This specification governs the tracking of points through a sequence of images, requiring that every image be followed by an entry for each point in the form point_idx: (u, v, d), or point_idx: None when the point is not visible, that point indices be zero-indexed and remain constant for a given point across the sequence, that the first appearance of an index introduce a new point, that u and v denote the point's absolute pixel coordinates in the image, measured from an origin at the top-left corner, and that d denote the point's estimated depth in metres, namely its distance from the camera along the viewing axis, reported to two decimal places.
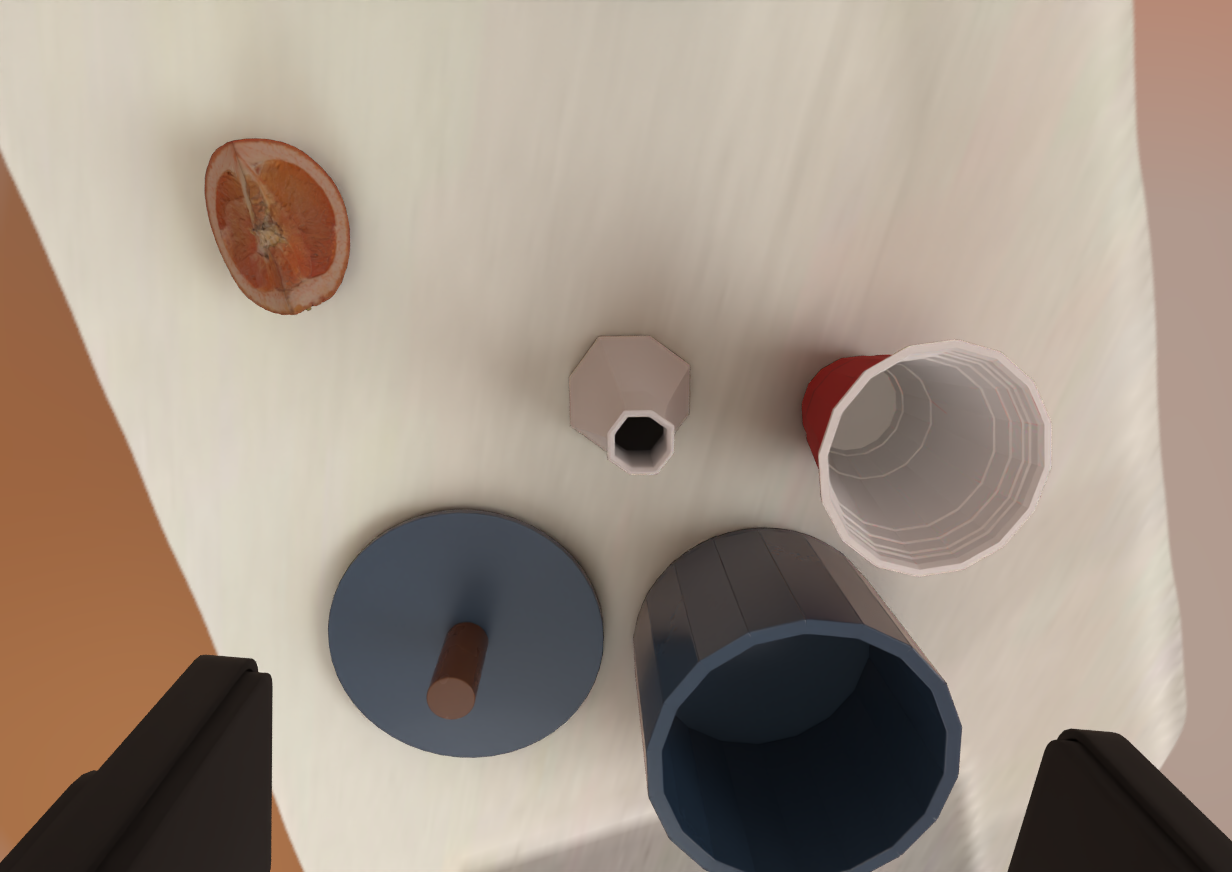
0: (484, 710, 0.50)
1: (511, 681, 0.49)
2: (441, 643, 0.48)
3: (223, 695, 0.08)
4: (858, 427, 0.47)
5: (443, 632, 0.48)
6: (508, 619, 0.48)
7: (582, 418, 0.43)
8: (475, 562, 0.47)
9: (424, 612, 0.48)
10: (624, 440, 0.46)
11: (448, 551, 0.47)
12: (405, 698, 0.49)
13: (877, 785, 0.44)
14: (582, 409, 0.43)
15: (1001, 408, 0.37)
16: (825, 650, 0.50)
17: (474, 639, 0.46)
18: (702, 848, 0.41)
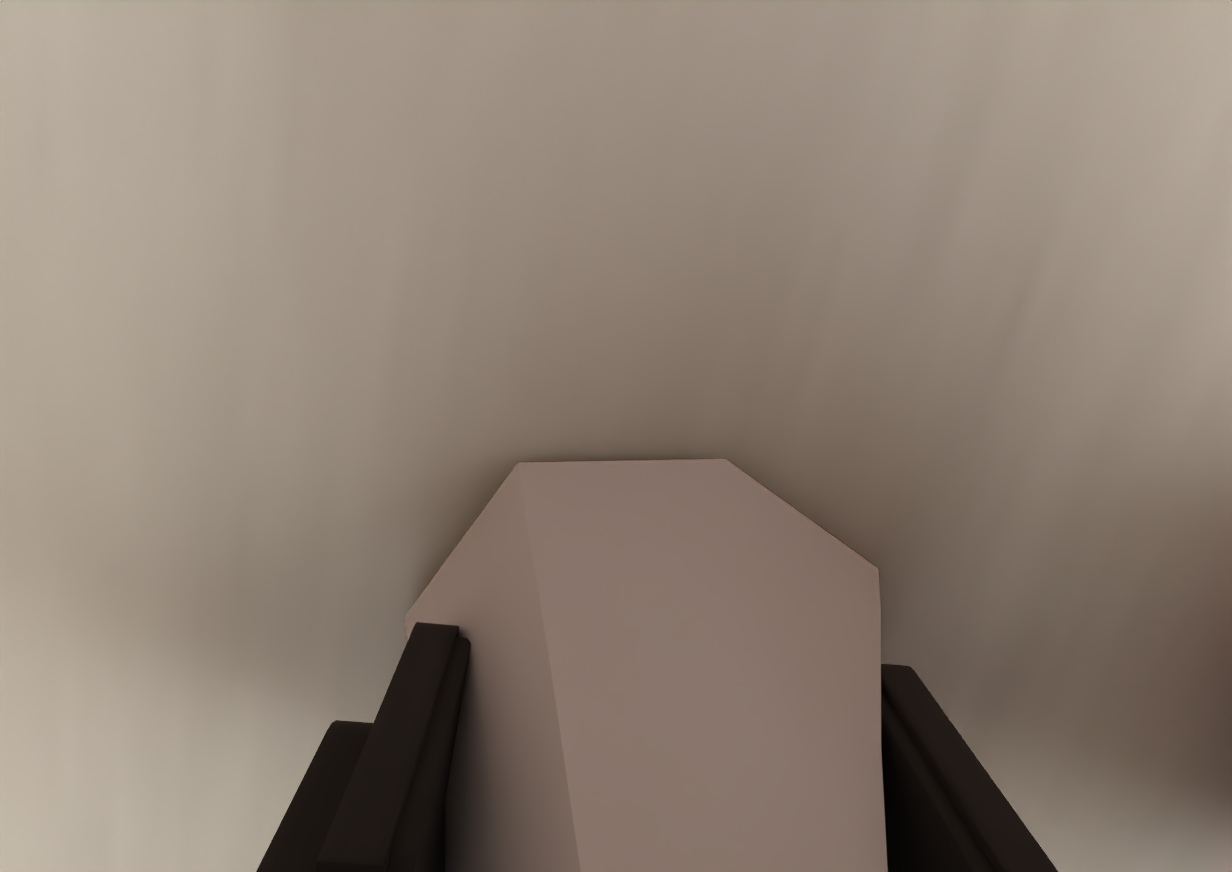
0: None
1: None
2: None
3: (449, 655, 0.09)
4: None
5: None
6: None
7: None
8: None
9: None
10: None
11: None
12: None
13: None
14: None
15: None
16: None
17: None
18: None
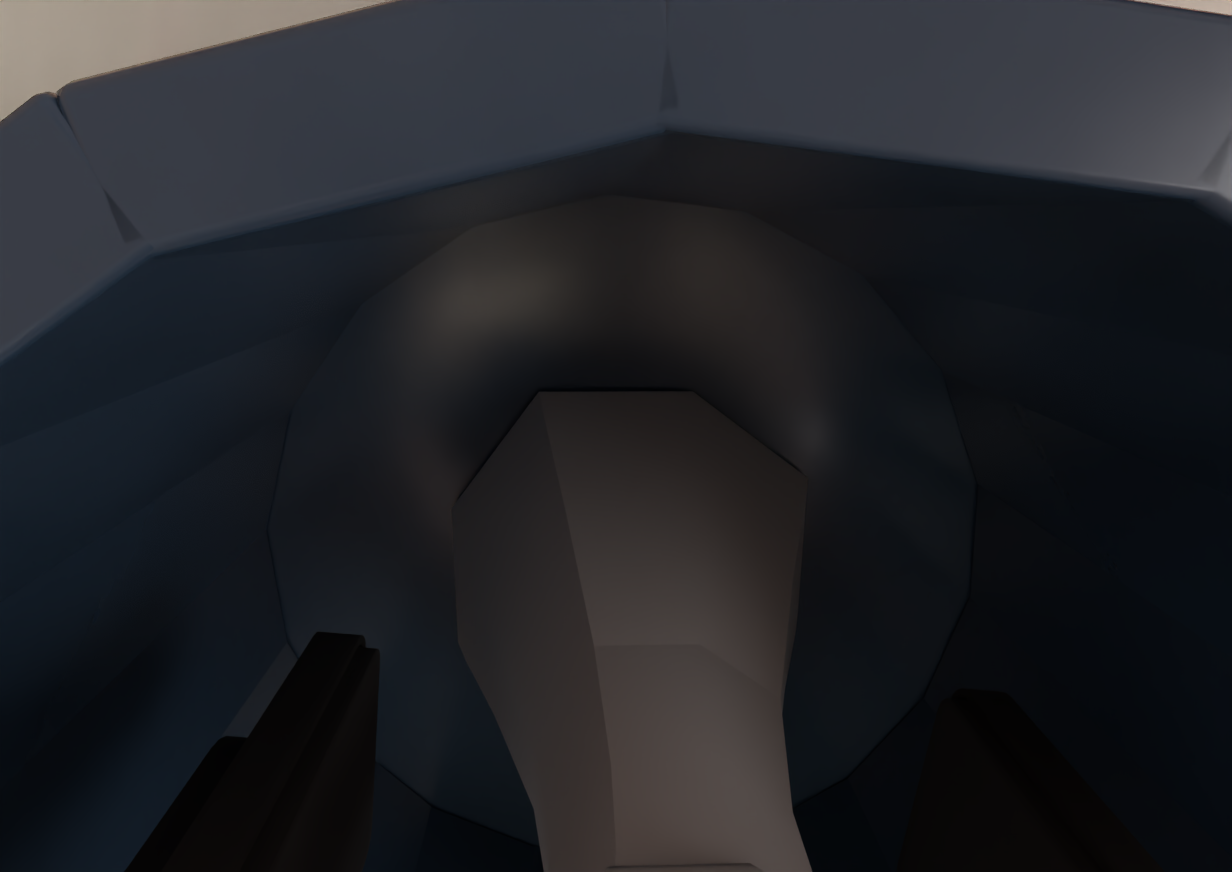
0: None
1: None
2: None
3: (345, 667, 0.09)
4: None
5: None
6: None
7: (478, 656, 0.14)
8: None
9: None
10: None
11: None
12: None
13: None
14: (478, 630, 0.14)
15: None
16: (837, 575, 0.16)
17: None
18: None
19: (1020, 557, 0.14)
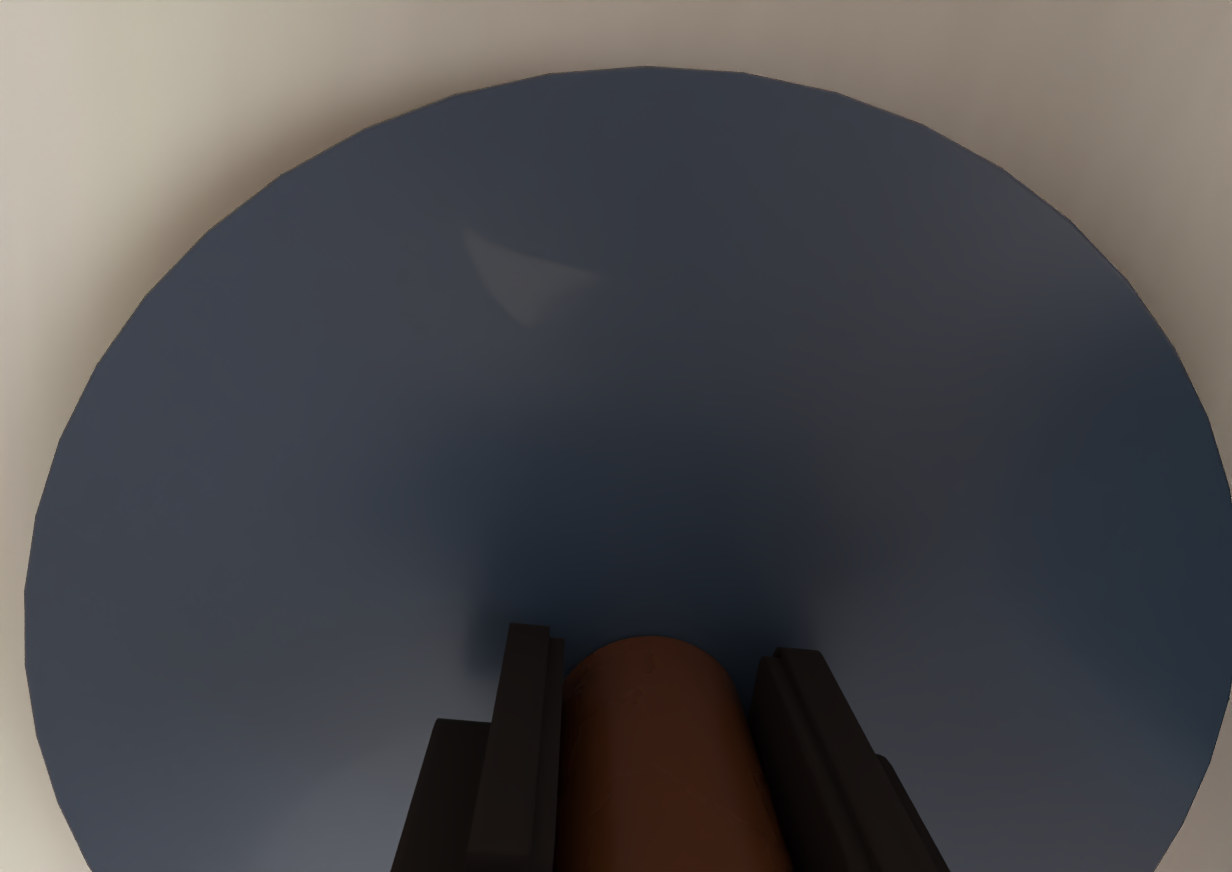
0: None
1: None
2: None
3: (547, 655, 0.09)
4: None
5: None
6: (839, 622, 0.11)
7: None
8: (714, 347, 0.10)
9: (463, 591, 0.10)
10: None
11: (584, 286, 0.09)
12: None
13: None
14: None
15: None
16: None
17: (722, 724, 0.09)
18: None
19: None
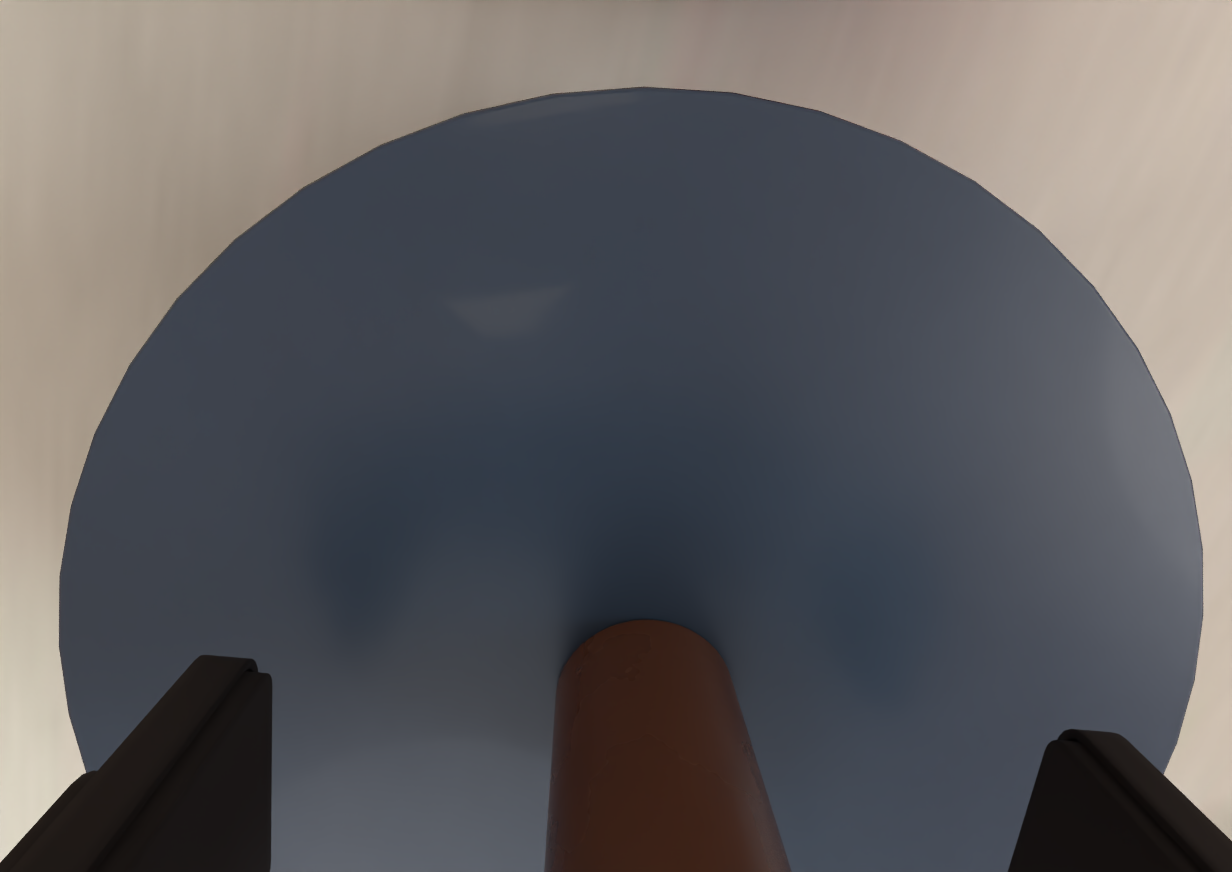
0: None
1: (807, 852, 0.13)
2: (539, 707, 0.12)
3: (223, 696, 0.08)
4: None
5: (549, 662, 0.11)
6: (824, 607, 0.11)
7: None
8: (706, 347, 0.10)
9: (471, 577, 0.11)
10: None
11: (586, 290, 0.10)
12: None
13: None
14: None
15: None
16: None
17: (713, 700, 0.10)
18: None
19: None
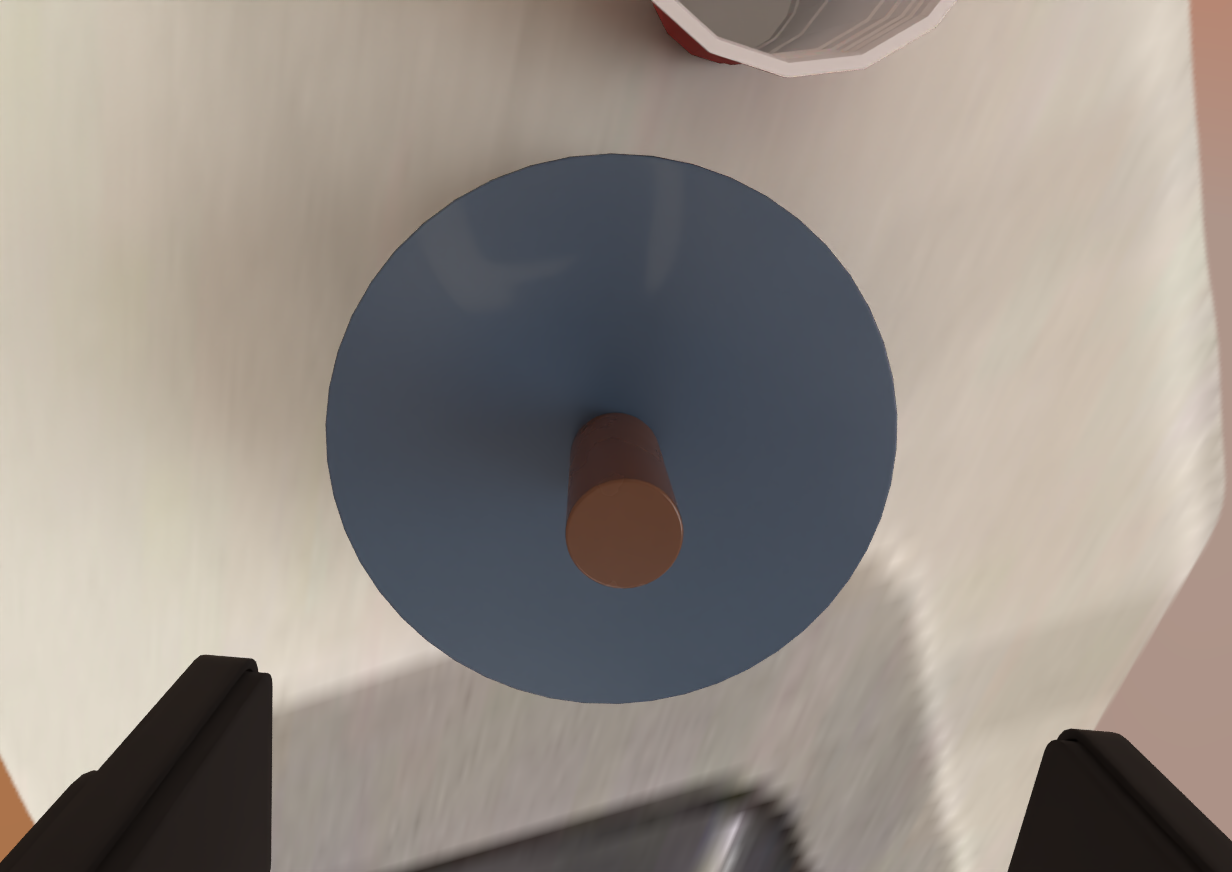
0: (642, 606, 0.25)
1: (701, 544, 0.24)
2: (562, 460, 0.23)
3: (223, 696, 0.08)
4: (739, 17, 0.31)
5: (567, 435, 0.23)
6: (704, 408, 0.23)
7: None
8: (642, 274, 0.22)
9: (529, 390, 0.23)
10: None
11: (585, 247, 0.22)
12: (484, 579, 0.24)
13: None
14: None
15: None
16: None
17: (644, 435, 0.21)
18: None
19: None
